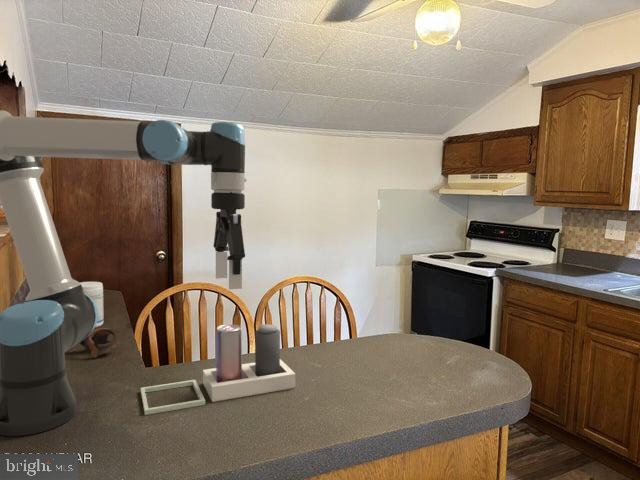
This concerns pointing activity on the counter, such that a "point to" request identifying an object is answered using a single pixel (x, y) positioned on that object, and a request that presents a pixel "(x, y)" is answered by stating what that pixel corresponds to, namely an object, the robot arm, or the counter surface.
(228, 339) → the beverage can
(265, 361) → the single round plug
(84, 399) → the counter surface
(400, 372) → the counter surface
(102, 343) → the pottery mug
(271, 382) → the white divided tray
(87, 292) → the supplement tub
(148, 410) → the rectangular frame
